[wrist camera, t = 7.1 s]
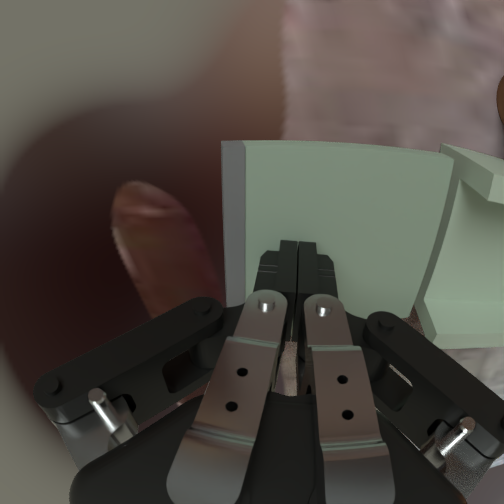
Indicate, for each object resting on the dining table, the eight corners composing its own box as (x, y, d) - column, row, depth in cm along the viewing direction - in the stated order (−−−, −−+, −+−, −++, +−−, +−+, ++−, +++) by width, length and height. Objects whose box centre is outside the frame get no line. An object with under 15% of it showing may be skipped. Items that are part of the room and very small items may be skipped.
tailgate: (455, 159, 12) (222, 146, 11) (408, 317, 17) (229, 342, 16) (441, 152, 13) (221, 141, 12) (400, 306, 18) (227, 327, 16)
